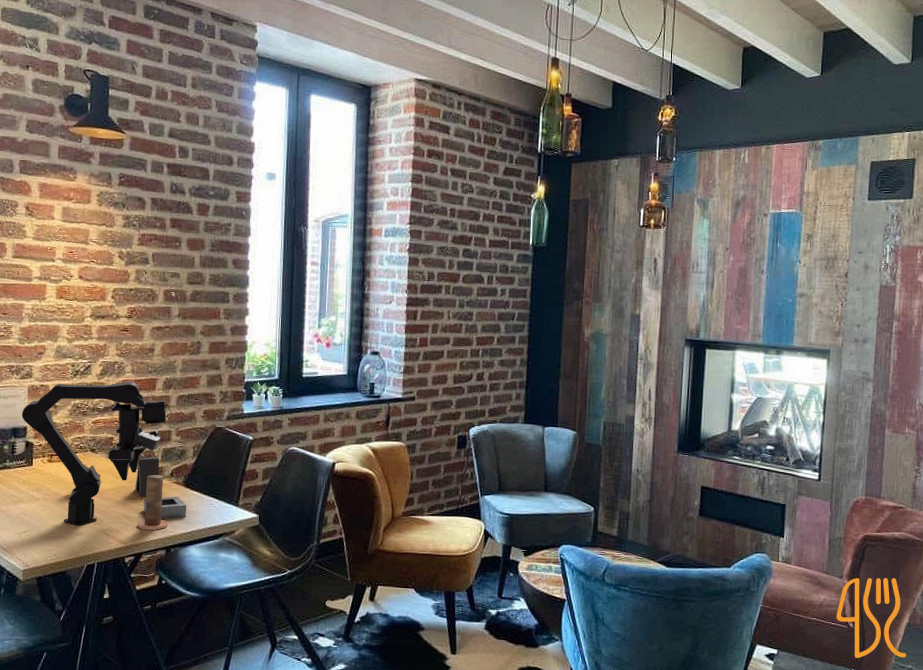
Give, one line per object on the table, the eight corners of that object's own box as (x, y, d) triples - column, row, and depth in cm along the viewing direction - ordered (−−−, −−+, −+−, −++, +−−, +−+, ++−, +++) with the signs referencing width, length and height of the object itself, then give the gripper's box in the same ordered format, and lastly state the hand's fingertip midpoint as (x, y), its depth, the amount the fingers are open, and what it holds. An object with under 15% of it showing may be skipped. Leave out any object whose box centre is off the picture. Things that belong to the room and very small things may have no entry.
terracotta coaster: (152, 532, 227) (153, 529, 227) (130, 526, 230) (131, 524, 230) (174, 524, 235) (174, 522, 234) (152, 519, 238) (152, 517, 238)
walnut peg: (146, 526, 229) (149, 479, 228) (143, 522, 233) (145, 475, 232) (162, 525, 232) (164, 478, 231) (158, 520, 235) (160, 474, 234)
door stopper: (135, 489, 268) (136, 455, 267) (153, 488, 271) (155, 454, 270) (140, 496, 260) (142, 461, 260) (159, 495, 264) (161, 460, 263)
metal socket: (151, 519, 238) (151, 508, 237) (143, 510, 246) (144, 499, 246) (185, 516, 243) (186, 505, 243) (177, 507, 252) (177, 496, 252)
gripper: (148, 431, 226) (148, 484, 227) (165, 419, 244) (165, 468, 245) (107, 430, 224) (108, 484, 226) (128, 418, 243) (128, 468, 244)
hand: (129, 476), depth 235 cm, fingers open, 9 cm apart
